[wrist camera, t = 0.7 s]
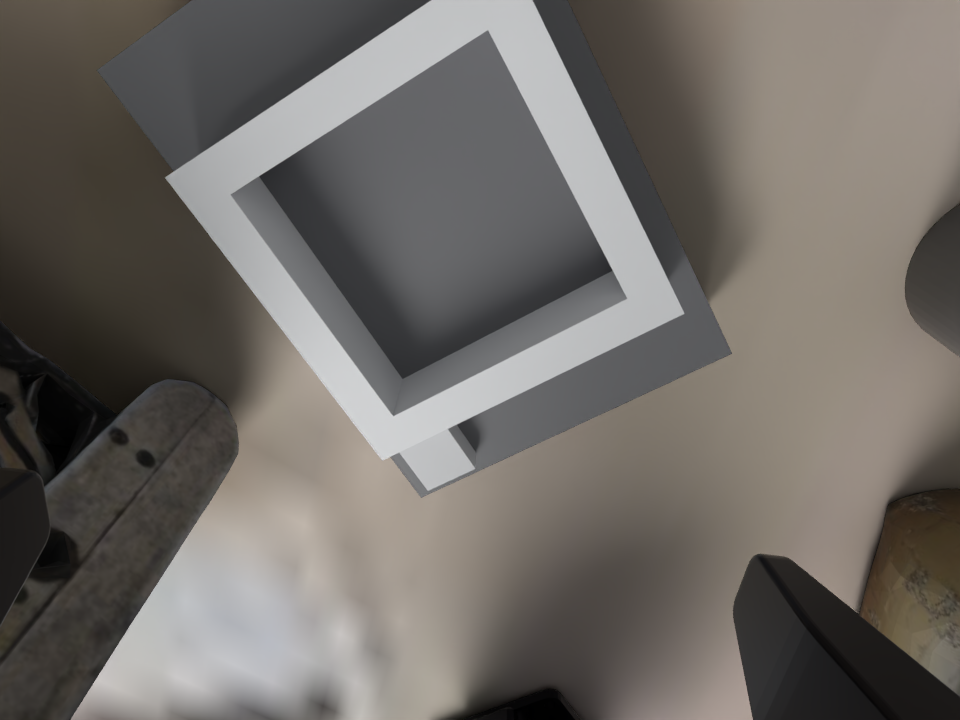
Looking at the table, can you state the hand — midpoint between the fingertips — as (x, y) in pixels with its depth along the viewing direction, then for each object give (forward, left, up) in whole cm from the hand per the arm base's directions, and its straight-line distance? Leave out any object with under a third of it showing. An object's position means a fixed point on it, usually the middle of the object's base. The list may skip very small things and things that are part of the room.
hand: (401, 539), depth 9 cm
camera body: (+1, 0, -13) cm, 13 cm away
